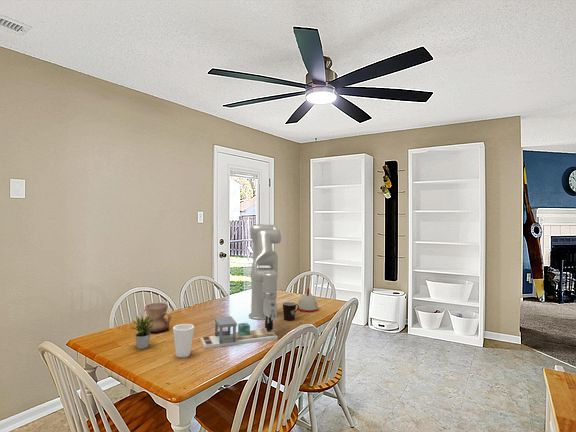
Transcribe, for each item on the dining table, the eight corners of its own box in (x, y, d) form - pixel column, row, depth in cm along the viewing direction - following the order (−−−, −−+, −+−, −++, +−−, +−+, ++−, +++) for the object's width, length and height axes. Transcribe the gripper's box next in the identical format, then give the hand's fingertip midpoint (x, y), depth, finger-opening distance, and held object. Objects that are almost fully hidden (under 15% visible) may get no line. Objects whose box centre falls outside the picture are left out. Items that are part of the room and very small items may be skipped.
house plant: (157, 352, 166) (158, 317, 166) (125, 354, 162) (126, 319, 162) (159, 341, 179) (160, 309, 179) (130, 343, 175) (131, 311, 175)
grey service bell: (318, 308, 251) (319, 287, 251) (316, 313, 237) (317, 291, 237) (299, 306, 253) (299, 286, 253) (296, 311, 240) (297, 290, 240)
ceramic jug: (134, 331, 193) (134, 306, 192) (152, 323, 206) (153, 300, 206) (160, 337, 187) (161, 310, 186) (177, 328, 200) (178, 303, 200)
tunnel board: (269, 331, 198) (270, 312, 197) (277, 339, 186) (278, 318, 186) (200, 339, 182) (200, 319, 182) (204, 348, 171) (205, 326, 171)
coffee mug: (284, 322, 216) (284, 305, 216) (280, 317, 224) (281, 302, 224) (302, 320, 219) (302, 305, 219) (298, 316, 228) (298, 301, 228)
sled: (269, 330, 195) (270, 315, 195) (274, 334, 188) (275, 320, 188) (232, 334, 187) (233, 319, 187) (236, 339, 179) (236, 324, 179)
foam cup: (177, 350, 169) (178, 323, 168) (196, 351, 168) (197, 324, 167) (169, 358, 159) (169, 329, 159) (188, 359, 158) (189, 330, 158)
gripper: (281, 298, 184) (280, 332, 184) (271, 291, 199) (270, 323, 199) (268, 299, 181) (267, 334, 182) (258, 292, 196) (257, 325, 196)
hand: (268, 328), depth 190 cm, fingers closed on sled, 2 cm apart
